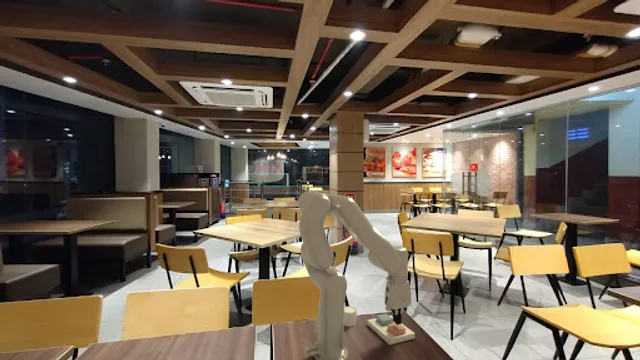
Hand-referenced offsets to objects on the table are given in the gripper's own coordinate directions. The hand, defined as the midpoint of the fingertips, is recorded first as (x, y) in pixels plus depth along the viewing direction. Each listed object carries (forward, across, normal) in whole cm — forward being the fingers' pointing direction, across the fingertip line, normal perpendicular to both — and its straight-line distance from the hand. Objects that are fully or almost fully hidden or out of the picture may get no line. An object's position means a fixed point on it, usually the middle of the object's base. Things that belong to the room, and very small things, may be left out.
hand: (397, 322), depth 121 cm
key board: (+6, 0, +4) cm, 8 cm away
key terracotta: (+4, 0, 0) cm, 4 cm away
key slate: (+4, 0, +8) cm, 9 cm away
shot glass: (+6, -13, +16) cm, 22 cm away
